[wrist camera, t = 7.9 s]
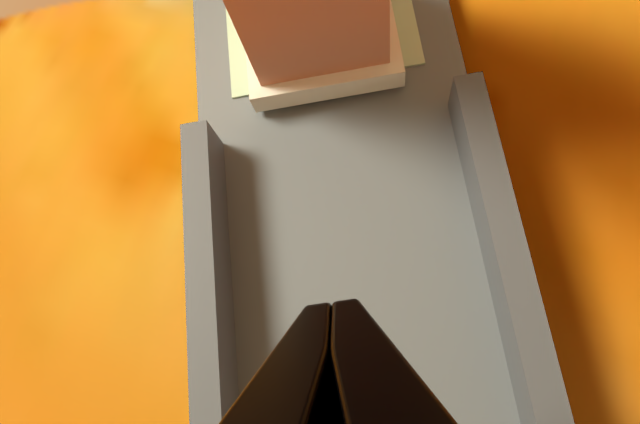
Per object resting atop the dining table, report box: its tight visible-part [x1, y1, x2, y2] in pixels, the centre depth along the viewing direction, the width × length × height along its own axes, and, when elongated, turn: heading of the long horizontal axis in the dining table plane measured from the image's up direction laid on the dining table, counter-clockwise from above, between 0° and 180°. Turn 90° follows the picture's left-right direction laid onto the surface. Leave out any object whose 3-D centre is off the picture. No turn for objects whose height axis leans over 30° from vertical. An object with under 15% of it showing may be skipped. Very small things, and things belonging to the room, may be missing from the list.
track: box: [180, 0, 575, 424], centre depth 18 cm, size 30×11×3 cm, turn 7°
